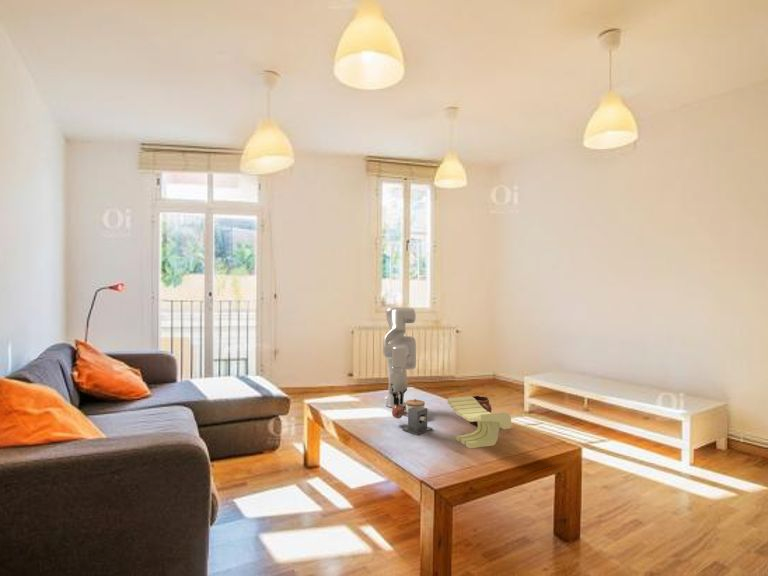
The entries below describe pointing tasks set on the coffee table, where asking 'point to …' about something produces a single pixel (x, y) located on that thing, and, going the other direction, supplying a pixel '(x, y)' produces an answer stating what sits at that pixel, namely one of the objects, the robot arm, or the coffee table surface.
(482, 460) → the coffee table surface
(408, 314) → the robot arm
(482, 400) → the decorative planter
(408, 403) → the lidded jar
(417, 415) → the grey square peg socket
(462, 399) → the slatted curved stool
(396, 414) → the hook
